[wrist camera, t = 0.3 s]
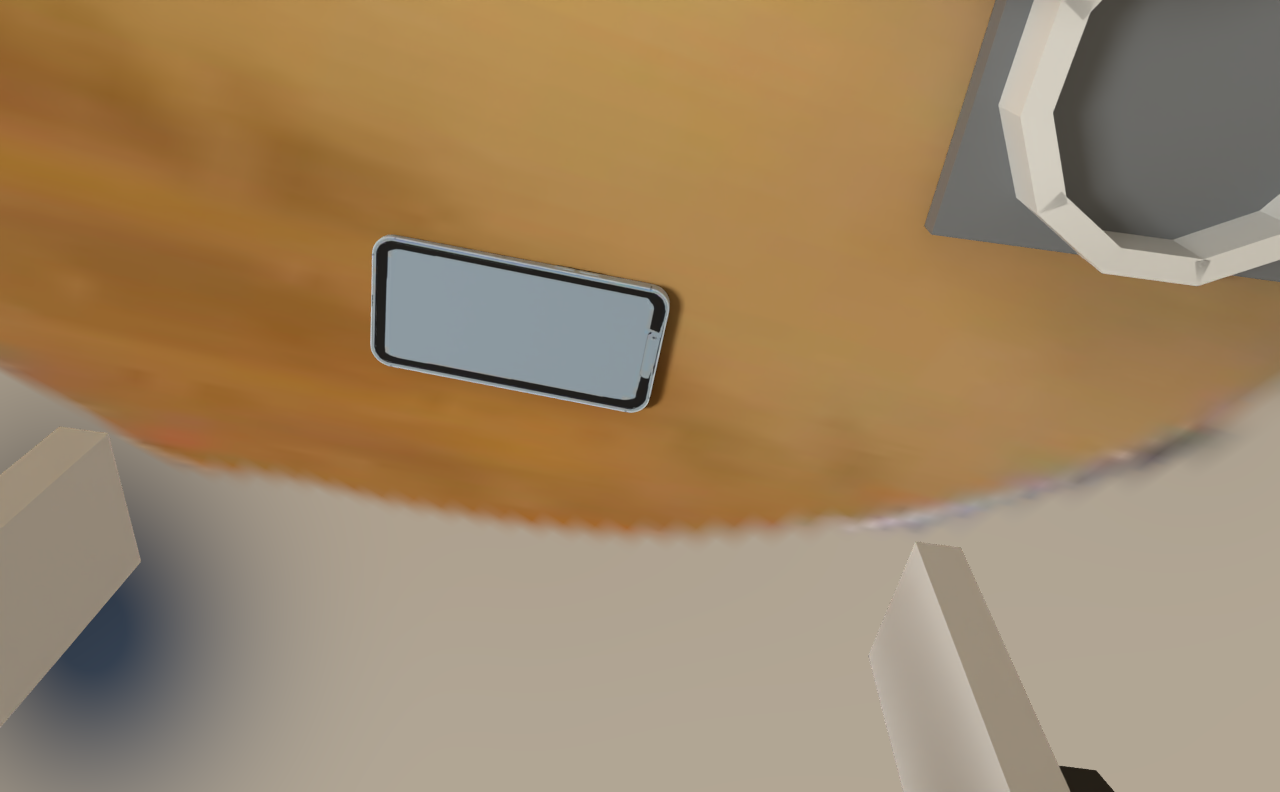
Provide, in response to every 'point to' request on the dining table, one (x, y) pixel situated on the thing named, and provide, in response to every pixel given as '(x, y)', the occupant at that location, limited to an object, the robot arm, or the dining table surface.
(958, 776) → the robot arm
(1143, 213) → the holder tray
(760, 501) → the dining table surface
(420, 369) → the smartphone
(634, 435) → the dining table surface
